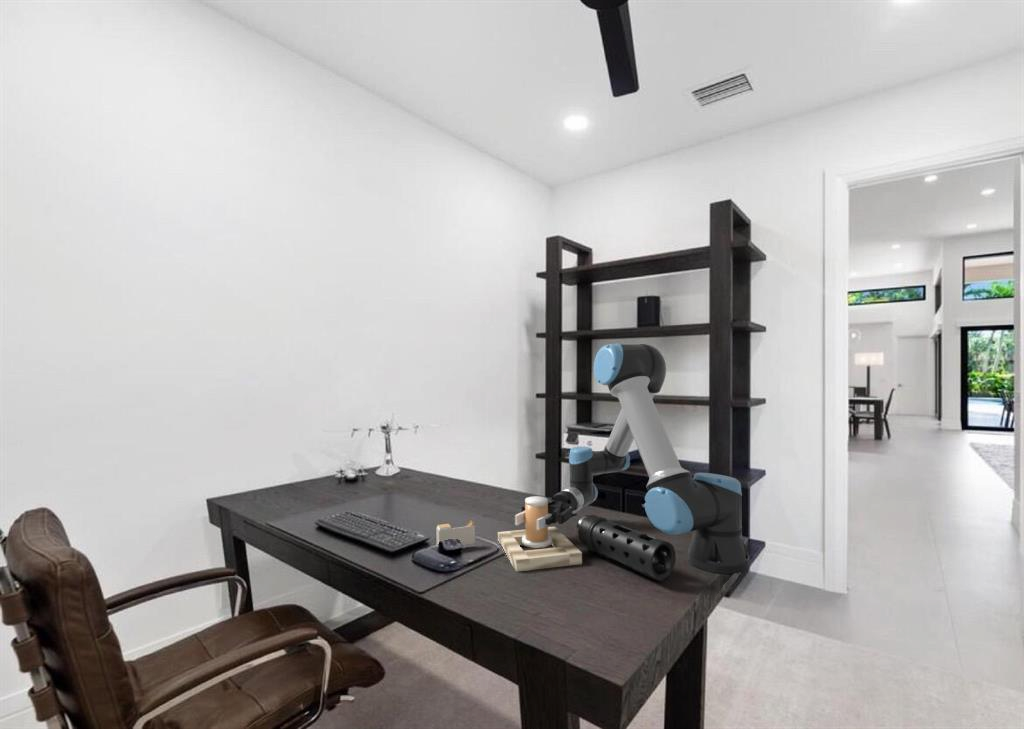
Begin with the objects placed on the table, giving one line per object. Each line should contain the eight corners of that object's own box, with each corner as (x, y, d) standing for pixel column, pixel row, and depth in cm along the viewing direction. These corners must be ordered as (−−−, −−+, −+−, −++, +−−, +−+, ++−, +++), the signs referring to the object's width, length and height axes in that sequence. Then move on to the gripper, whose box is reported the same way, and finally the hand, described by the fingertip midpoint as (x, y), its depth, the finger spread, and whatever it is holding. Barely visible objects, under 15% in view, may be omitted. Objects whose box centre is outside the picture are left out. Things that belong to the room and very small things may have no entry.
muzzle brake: (650, 589, 117) (650, 545, 117) (573, 552, 140) (572, 515, 140) (677, 579, 122) (676, 537, 122) (598, 545, 146) (597, 510, 146)
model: (436, 550, 144) (436, 524, 144) (471, 544, 148) (471, 519, 148) (439, 554, 141) (439, 527, 141) (475, 548, 145) (474, 522, 145)
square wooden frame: (581, 563, 132) (581, 552, 132) (516, 571, 127) (516, 560, 127) (554, 536, 153) (554, 526, 153) (497, 542, 149) (497, 532, 149)
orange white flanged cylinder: (555, 546, 138) (555, 502, 137) (526, 549, 135) (526, 504, 135) (546, 535, 146) (545, 494, 146) (518, 538, 144) (518, 496, 143)
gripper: (595, 519, 150) (557, 543, 131) (540, 509, 161) (498, 529, 142) (595, 494, 150) (557, 514, 131) (540, 486, 161) (498, 503, 142)
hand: (526, 522), depth 136 cm, fingers closed on orange white flanged cylinder, 6 cm apart
